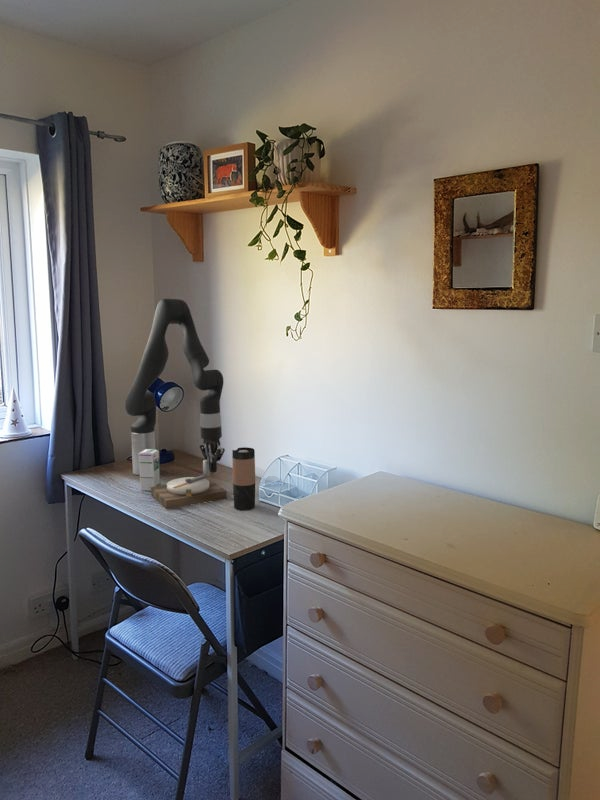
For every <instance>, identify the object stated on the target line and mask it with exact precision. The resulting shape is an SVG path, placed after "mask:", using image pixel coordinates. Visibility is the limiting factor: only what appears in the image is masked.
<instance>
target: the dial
mask: <svg viewBox="0 0 600 800" xmlns="http://www.w3.org/2000/svg"><path fill="white" fill-rule="evenodd" d="M202 471H203V472H202V473H203V474H200V475H199V476H198V475H197V476H195V477H194V476H188V477H180V478H174V479H172V480H169V481H168V482H166V485H167V491H168V492H170V493H172V494H178V495H186V489H191V494H198V493H202V492H205V491H207V490H208V489H209V481H208V480H207V479H208V478H210V477H211V472H210V471H209V462H208V460H207V459H206V460H205V459H204V460H202Z"/></svg>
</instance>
